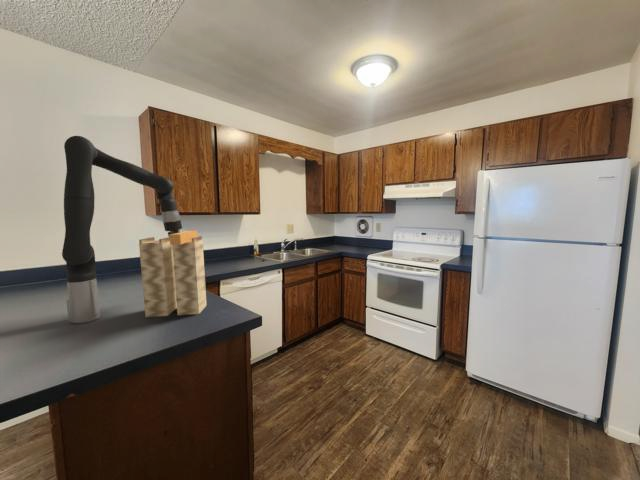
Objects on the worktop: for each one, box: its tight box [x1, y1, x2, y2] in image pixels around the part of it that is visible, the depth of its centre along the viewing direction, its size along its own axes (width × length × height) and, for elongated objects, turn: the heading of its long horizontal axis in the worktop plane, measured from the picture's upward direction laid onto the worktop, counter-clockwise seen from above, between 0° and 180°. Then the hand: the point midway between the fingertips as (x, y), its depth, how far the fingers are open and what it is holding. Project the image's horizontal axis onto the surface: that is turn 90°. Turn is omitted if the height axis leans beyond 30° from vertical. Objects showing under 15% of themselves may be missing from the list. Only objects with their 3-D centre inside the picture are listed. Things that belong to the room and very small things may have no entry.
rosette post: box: [138, 236, 177, 318], centre depth 118 cm, size 9×11×34 cm
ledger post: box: [172, 235, 207, 316], centre depth 119 cm, size 9×11×34 cm
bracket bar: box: [168, 230, 198, 245], centre depth 114 cm, size 4×20×4 cm, turn 7°
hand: (178, 252), depth 131 cm, fingers open, 8 cm apart
